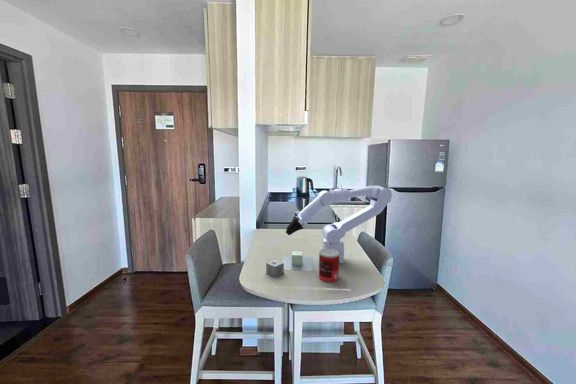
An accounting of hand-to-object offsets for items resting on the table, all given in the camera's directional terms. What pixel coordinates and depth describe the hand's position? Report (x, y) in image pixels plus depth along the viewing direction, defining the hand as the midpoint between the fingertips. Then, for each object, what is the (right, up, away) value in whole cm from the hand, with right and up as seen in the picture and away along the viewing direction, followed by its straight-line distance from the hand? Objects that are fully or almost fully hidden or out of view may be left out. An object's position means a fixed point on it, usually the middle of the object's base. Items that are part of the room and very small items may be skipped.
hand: (287, 232), depth 120 cm
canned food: (+16, -17, -13) cm, 27 cm away
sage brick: (+4, -14, 0) cm, 14 cm away
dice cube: (-5, -16, -10) cm, 19 cm away
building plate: (+4, -14, 0) cm, 15 cm away
